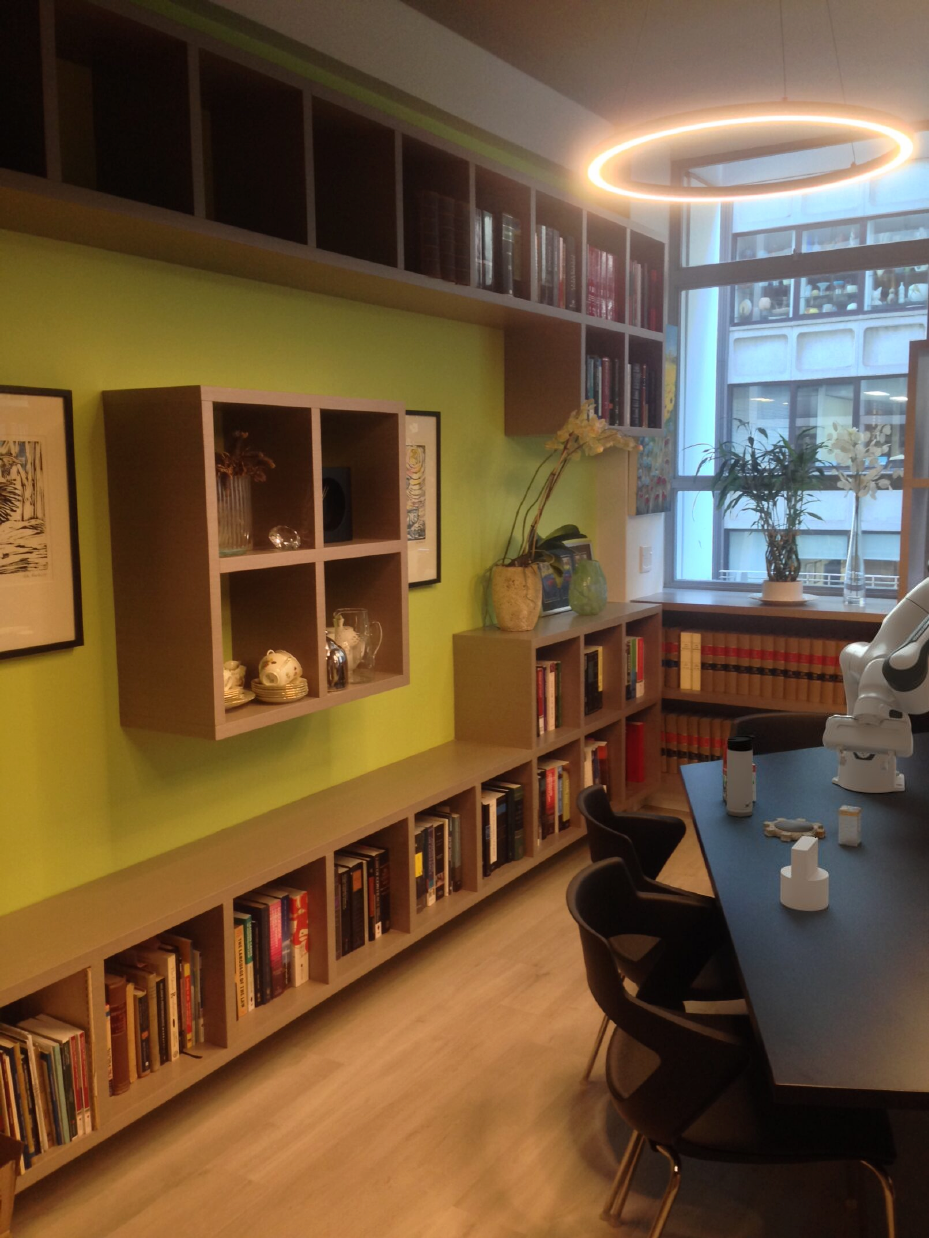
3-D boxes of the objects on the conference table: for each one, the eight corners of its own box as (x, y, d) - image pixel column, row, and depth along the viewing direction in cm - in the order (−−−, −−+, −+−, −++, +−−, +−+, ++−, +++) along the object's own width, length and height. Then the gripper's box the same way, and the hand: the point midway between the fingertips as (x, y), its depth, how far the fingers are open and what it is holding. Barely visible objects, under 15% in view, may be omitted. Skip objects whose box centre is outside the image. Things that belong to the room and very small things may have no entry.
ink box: (756, 801, 277) (756, 746, 275) (727, 803, 276) (727, 748, 274) (750, 797, 281) (750, 743, 279) (722, 799, 280) (722, 745, 278)
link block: (842, 838, 246) (843, 805, 245) (860, 841, 244) (861, 807, 243) (838, 843, 242) (838, 809, 241) (856, 846, 240) (857, 812, 239)
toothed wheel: (773, 820, 260) (773, 813, 260) (831, 828, 253) (831, 821, 253) (755, 836, 249) (755, 828, 249) (815, 845, 241) (816, 837, 241)
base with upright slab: (822, 914, 202) (822, 853, 201) (774, 905, 207) (775, 846, 206) (833, 898, 210) (834, 839, 208) (787, 890, 215) (787, 833, 213)
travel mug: (754, 817, 263) (755, 738, 261) (727, 816, 265) (727, 738, 262) (753, 810, 269) (753, 733, 267) (726, 809, 271) (726, 732, 269)
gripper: (825, 707, 260) (815, 754, 252) (915, 714, 249) (906, 764, 241) (830, 721, 264) (819, 768, 257) (918, 729, 253) (909, 778, 246)
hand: (862, 766), depth 249 cm, fingers open, 8 cm apart
